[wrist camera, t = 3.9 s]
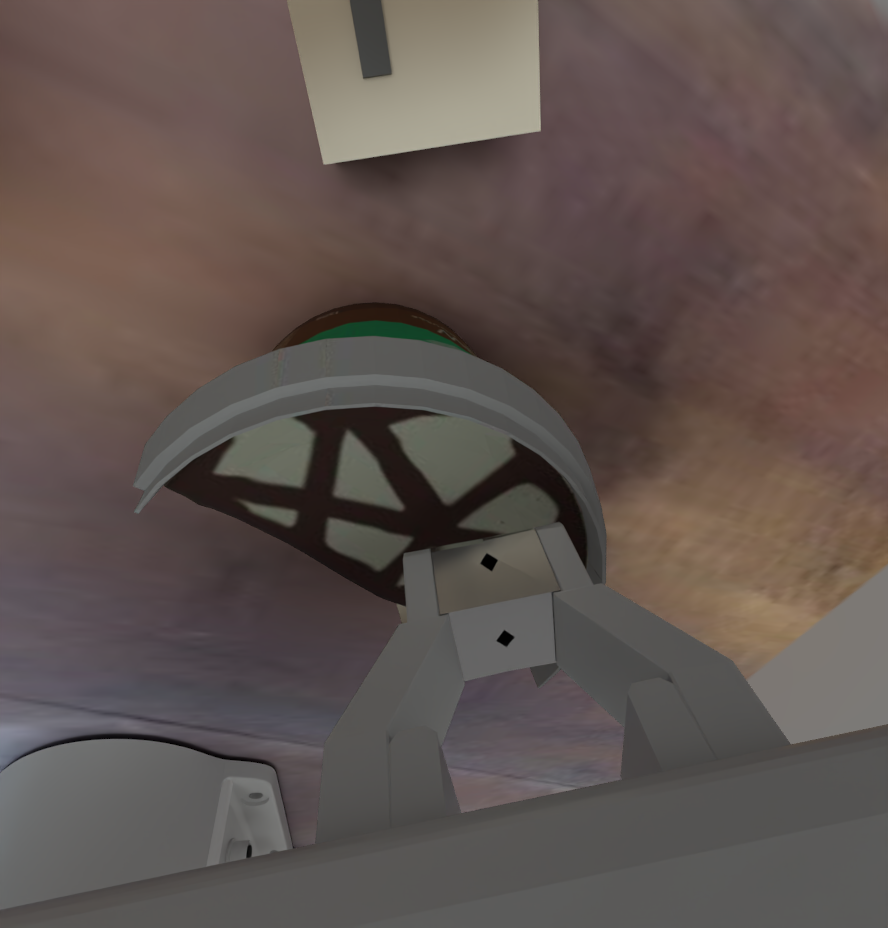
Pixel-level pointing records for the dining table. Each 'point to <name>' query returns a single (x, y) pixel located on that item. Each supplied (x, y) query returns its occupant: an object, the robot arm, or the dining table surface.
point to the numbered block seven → (417, 72)
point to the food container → (377, 449)
